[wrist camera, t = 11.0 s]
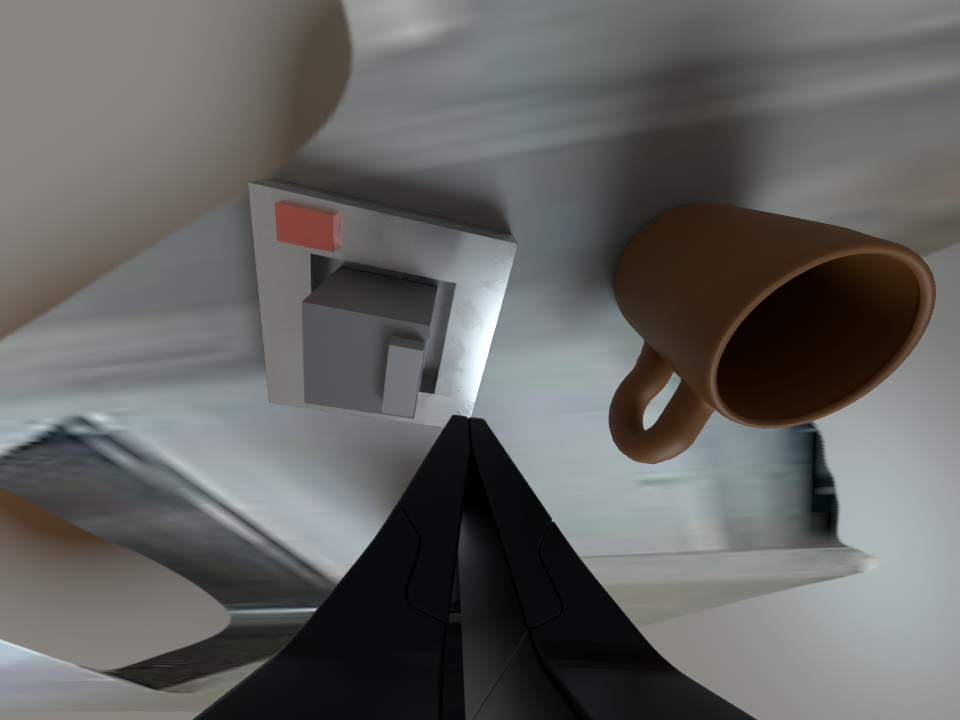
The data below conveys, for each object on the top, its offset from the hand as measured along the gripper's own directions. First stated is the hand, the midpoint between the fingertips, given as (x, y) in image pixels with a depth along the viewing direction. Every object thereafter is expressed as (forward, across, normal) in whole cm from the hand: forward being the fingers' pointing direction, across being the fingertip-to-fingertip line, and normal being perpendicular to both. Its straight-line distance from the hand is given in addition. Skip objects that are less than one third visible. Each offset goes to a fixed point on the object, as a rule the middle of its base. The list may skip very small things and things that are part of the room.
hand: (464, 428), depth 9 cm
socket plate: (+12, +4, +3) cm, 13 cm away
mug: (+13, -11, -1) cm, 17 cm away
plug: (+12, +4, +3) cm, 13 cm away
